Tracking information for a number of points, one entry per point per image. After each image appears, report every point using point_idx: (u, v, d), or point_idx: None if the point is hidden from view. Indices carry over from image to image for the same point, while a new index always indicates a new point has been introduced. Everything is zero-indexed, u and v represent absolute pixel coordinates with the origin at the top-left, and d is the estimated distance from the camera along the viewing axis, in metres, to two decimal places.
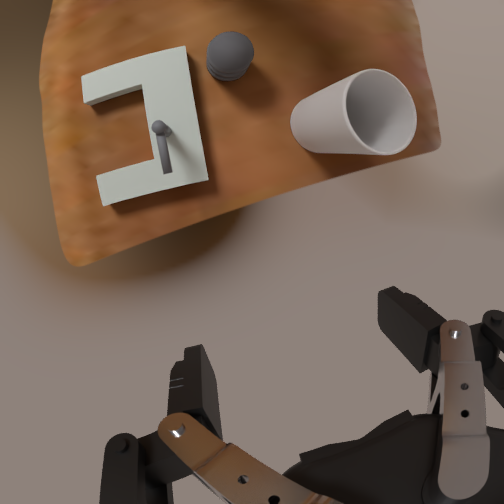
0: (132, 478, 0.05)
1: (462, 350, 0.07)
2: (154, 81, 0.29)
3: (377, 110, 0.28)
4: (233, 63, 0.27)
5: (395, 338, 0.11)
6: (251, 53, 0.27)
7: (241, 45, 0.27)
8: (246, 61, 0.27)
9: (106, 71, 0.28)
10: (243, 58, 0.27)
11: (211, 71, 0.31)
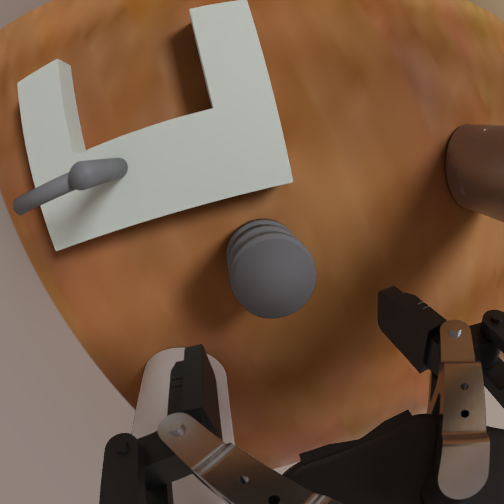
0: (132, 478, 0.05)
1: (461, 350, 0.07)
2: (216, 131, 0.17)
3: None
4: (245, 290, 0.17)
5: (395, 338, 0.11)
6: (270, 316, 0.18)
7: (286, 298, 0.18)
8: (252, 310, 0.18)
9: (248, 40, 0.15)
10: (258, 305, 0.18)
11: (240, 232, 0.21)
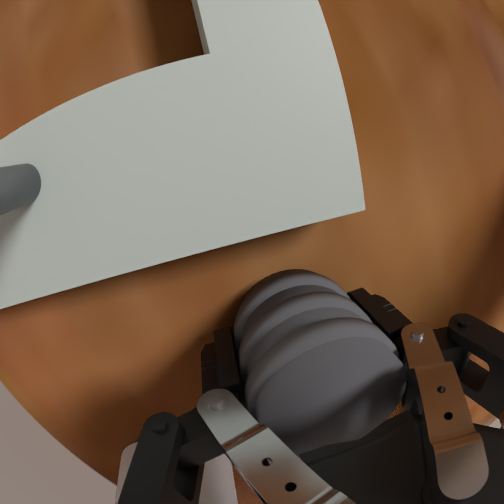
0: (165, 459, 0.06)
1: (428, 352, 0.07)
2: (216, 101, 0.08)
3: None
4: (280, 433, 0.08)
5: None
6: None
7: (348, 430, 0.08)
8: None
9: None
10: (299, 446, 0.08)
11: (261, 301, 0.11)
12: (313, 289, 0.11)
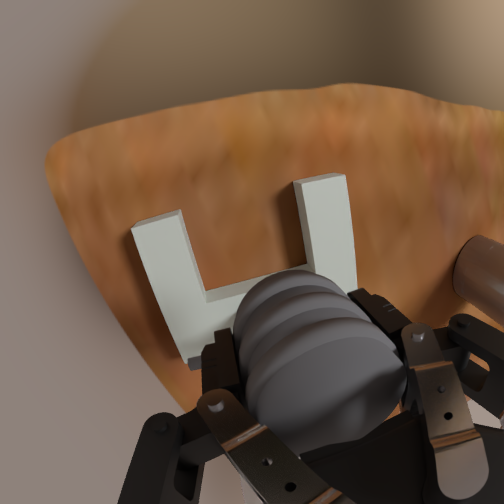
0: (165, 459, 0.06)
1: (428, 352, 0.07)
2: None
3: None
4: (280, 433, 0.08)
5: None
6: None
7: (349, 429, 0.08)
8: None
9: (344, 217, 0.24)
10: (300, 446, 0.08)
11: (261, 301, 0.11)
12: (313, 289, 0.11)
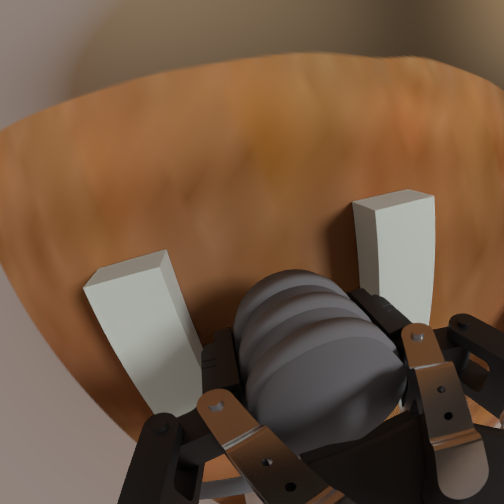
0: (164, 459, 0.06)
1: (428, 353, 0.07)
2: None
3: None
4: (280, 433, 0.08)
5: None
6: None
7: (349, 429, 0.08)
8: None
9: (426, 261, 0.14)
10: (300, 446, 0.08)
11: (261, 301, 0.11)
12: (313, 289, 0.11)
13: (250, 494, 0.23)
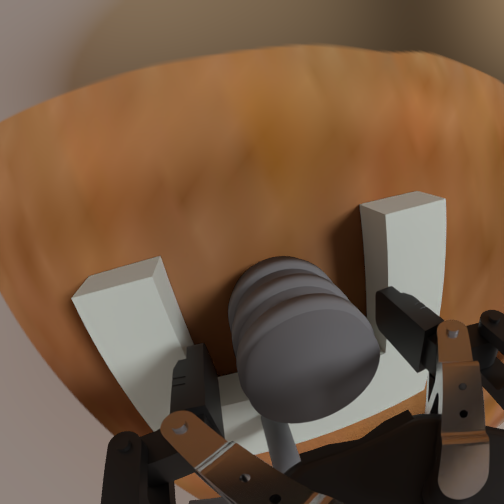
0: (134, 476, 0.05)
1: (459, 350, 0.07)
2: (381, 373, 0.15)
3: None
4: (266, 395, 0.09)
5: (393, 338, 0.11)
6: (301, 420, 0.10)
7: (329, 397, 0.10)
8: (274, 417, 0.10)
9: (436, 267, 0.13)
10: (284, 411, 0.10)
11: (252, 282, 0.13)
12: (297, 272, 0.12)
13: None
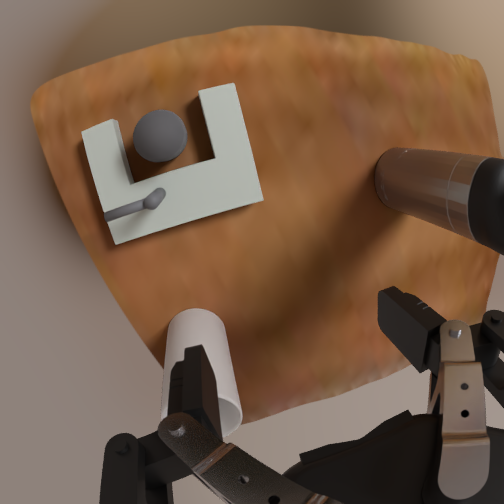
0: (132, 478, 0.05)
1: (462, 350, 0.07)
2: (218, 172, 0.31)
3: None
4: (139, 141, 0.25)
5: (395, 338, 0.11)
6: (155, 158, 0.26)
7: (164, 145, 0.26)
8: (144, 154, 0.26)
9: (235, 113, 0.29)
10: (147, 150, 0.26)
11: None
12: None
13: (169, 327, 0.38)
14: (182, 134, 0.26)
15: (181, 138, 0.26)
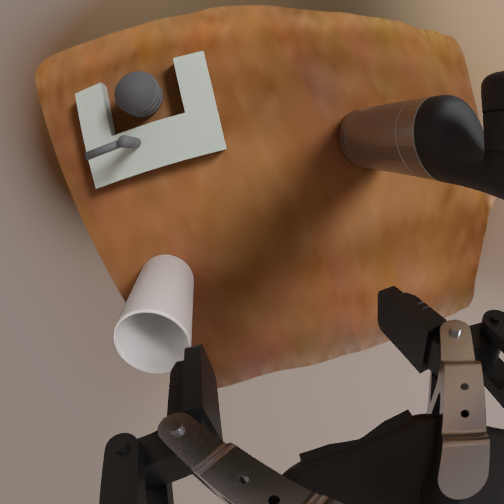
0: (132, 478, 0.05)
1: (462, 350, 0.07)
2: (186, 124, 0.33)
3: (174, 336, 0.35)
4: (119, 95, 0.28)
5: (395, 338, 0.11)
6: (131, 109, 0.28)
7: (139, 98, 0.28)
8: (122, 106, 0.28)
9: (203, 75, 0.31)
10: (125, 103, 0.28)
11: None
12: None
13: None
14: (154, 89, 0.28)
15: (153, 92, 0.28)
